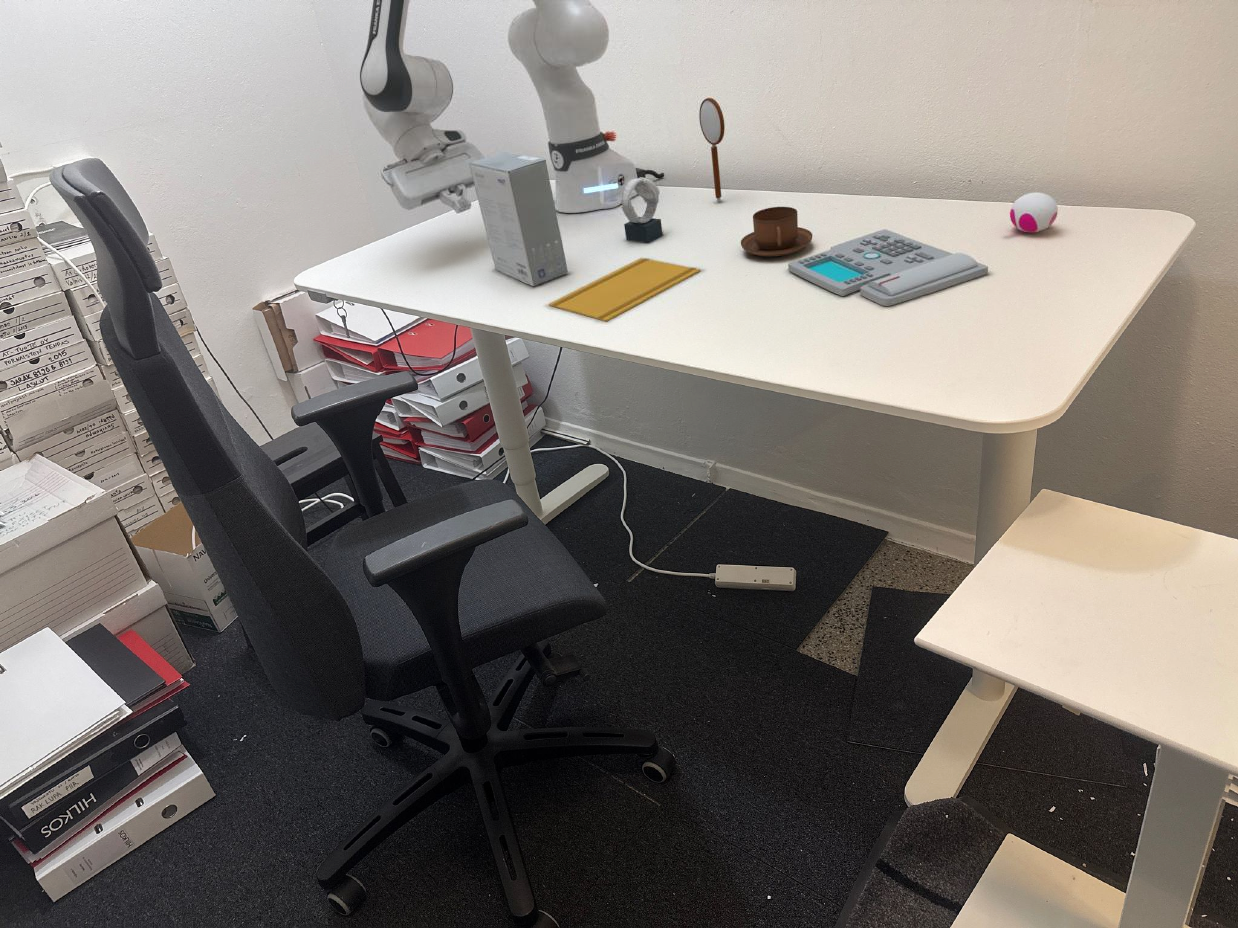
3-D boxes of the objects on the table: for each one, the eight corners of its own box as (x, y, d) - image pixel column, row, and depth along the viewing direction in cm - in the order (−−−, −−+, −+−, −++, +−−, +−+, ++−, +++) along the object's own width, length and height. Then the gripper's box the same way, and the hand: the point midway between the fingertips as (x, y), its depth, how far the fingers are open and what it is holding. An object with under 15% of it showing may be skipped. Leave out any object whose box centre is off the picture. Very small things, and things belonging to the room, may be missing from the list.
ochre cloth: (641, 259, 147) (641, 257, 146) (700, 271, 137) (700, 269, 137) (549, 305, 135) (548, 303, 135) (606, 321, 126) (606, 319, 126)
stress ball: (1003, 247, 134) (985, 219, 130) (1041, 210, 133) (1023, 181, 129) (1036, 258, 127) (1018, 229, 124) (1076, 219, 126) (1059, 189, 123)
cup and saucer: (825, 250, 136) (825, 213, 133) (759, 268, 134) (757, 231, 131) (792, 232, 146) (791, 197, 143) (730, 248, 144) (727, 213, 141)
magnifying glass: (733, 205, 165) (724, 99, 154) (725, 207, 164) (716, 101, 153) (712, 197, 172) (702, 95, 161) (705, 199, 171) (694, 97, 160)
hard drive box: (570, 274, 146) (547, 159, 135) (533, 288, 143) (507, 172, 132) (528, 257, 158) (504, 150, 147) (493, 270, 154) (466, 162, 144)
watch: (669, 232, 157) (661, 173, 151) (642, 246, 152) (633, 186, 147) (646, 229, 161) (639, 172, 155) (620, 243, 156) (610, 185, 150)
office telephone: (991, 257, 117) (876, 297, 112) (989, 274, 119) (876, 314, 113) (885, 221, 136) (781, 253, 130) (884, 236, 137) (782, 269, 132)
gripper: (378, 157, 149) (422, 216, 148) (469, 128, 160) (510, 183, 159) (374, 180, 154) (416, 237, 153) (462, 151, 165) (502, 204, 164)
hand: (464, 209), depth 156 cm, fingers closed
